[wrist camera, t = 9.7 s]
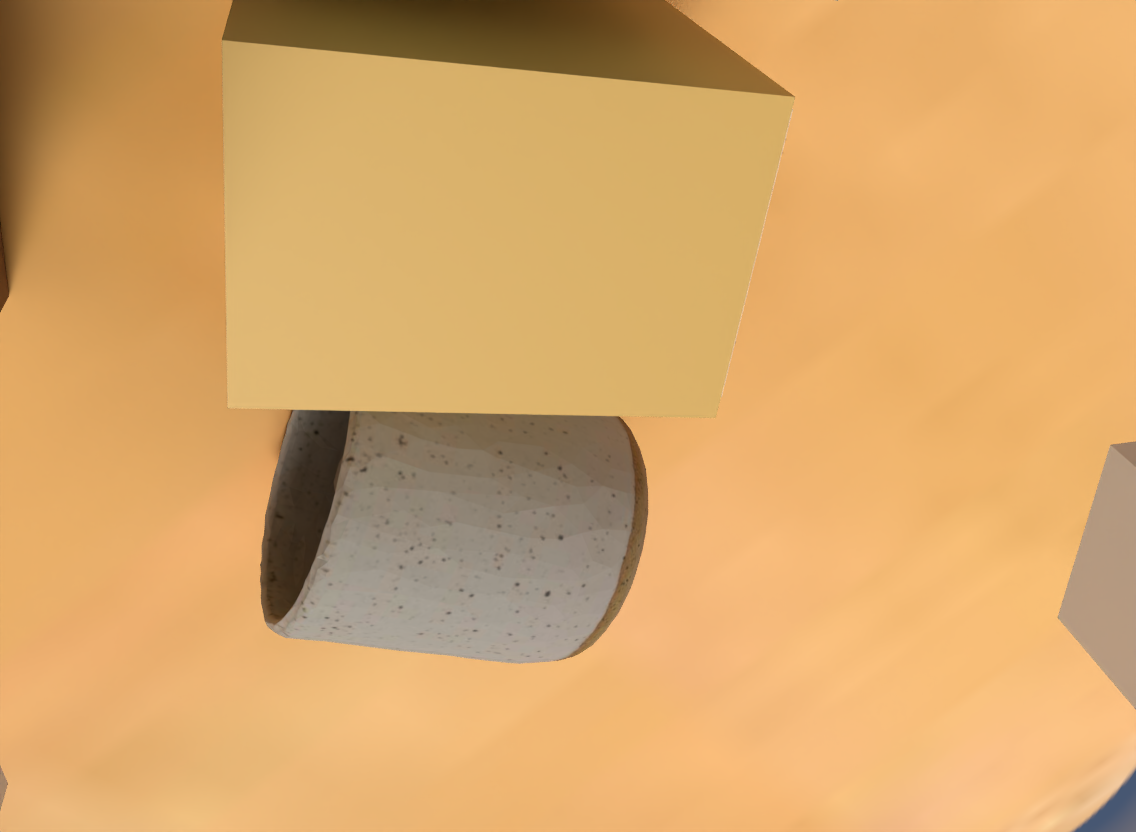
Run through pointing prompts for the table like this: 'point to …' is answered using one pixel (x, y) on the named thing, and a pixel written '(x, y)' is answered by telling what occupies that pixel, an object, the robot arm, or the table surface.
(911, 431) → the table surface
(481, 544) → the ceramic mug
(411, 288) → the ochre book
